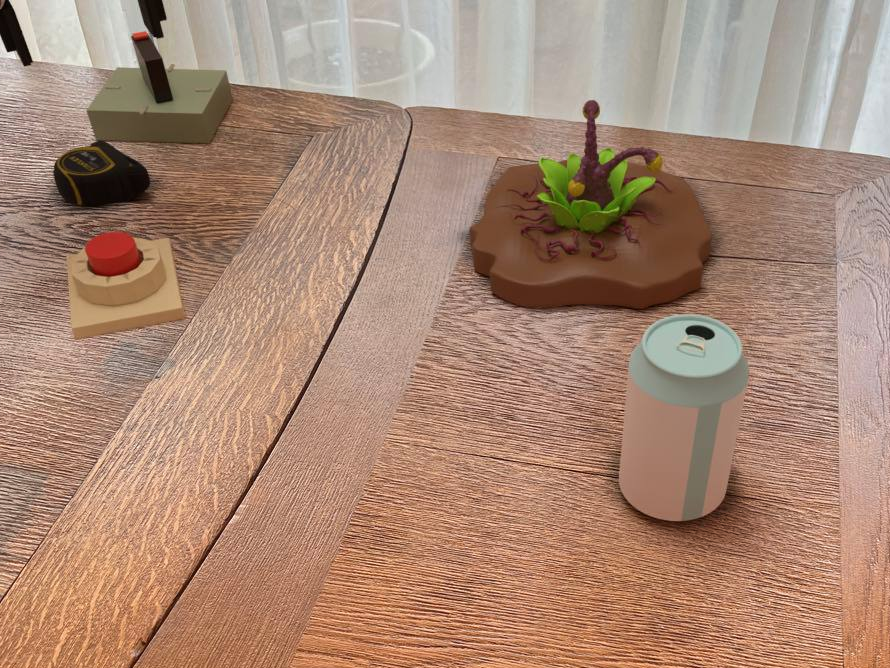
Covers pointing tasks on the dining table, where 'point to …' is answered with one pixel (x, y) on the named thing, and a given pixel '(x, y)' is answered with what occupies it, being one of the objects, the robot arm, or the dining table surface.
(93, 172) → the tape measure
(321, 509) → the dining table surface
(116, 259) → the button
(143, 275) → the button box
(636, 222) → the plant
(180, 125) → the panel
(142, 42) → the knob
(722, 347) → the can
